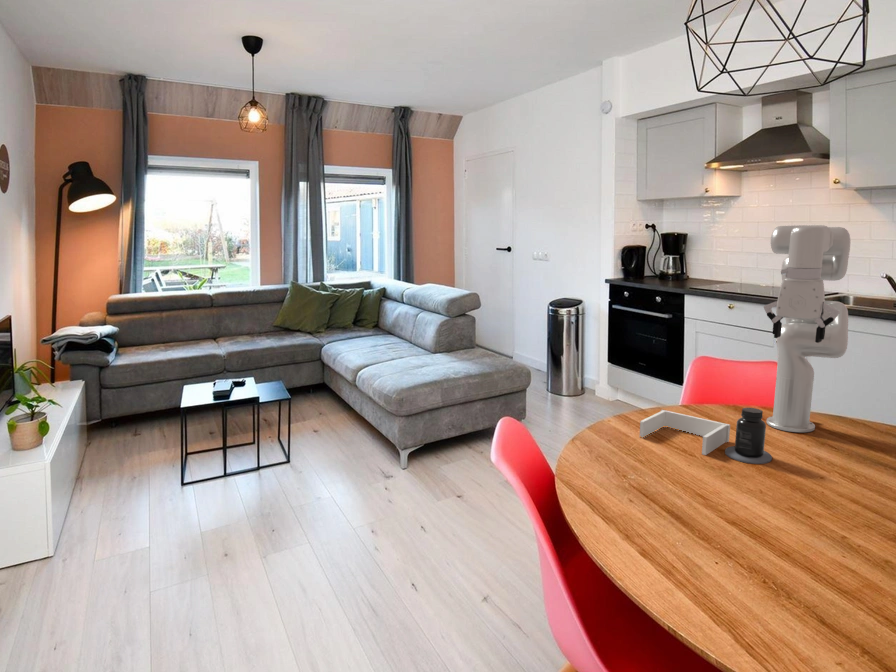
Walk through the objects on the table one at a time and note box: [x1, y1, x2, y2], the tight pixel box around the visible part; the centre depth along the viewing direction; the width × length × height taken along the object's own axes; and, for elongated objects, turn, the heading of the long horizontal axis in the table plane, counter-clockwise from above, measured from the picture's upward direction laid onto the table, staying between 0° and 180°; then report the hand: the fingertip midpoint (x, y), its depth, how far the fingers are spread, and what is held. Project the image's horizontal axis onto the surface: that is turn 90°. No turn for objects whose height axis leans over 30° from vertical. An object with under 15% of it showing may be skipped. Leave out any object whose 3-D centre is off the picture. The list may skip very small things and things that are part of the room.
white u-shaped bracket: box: [639, 409, 731, 456], centre depth 162 cm, size 14×20×5 cm
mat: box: [724, 445, 773, 465], centre depth 150 cm, size 11×11×1 cm
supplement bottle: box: [734, 407, 767, 458], centre depth 149 cm, size 7×7×12 cm
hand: (797, 339), depth 149 cm, fingers open, 9 cm apart
